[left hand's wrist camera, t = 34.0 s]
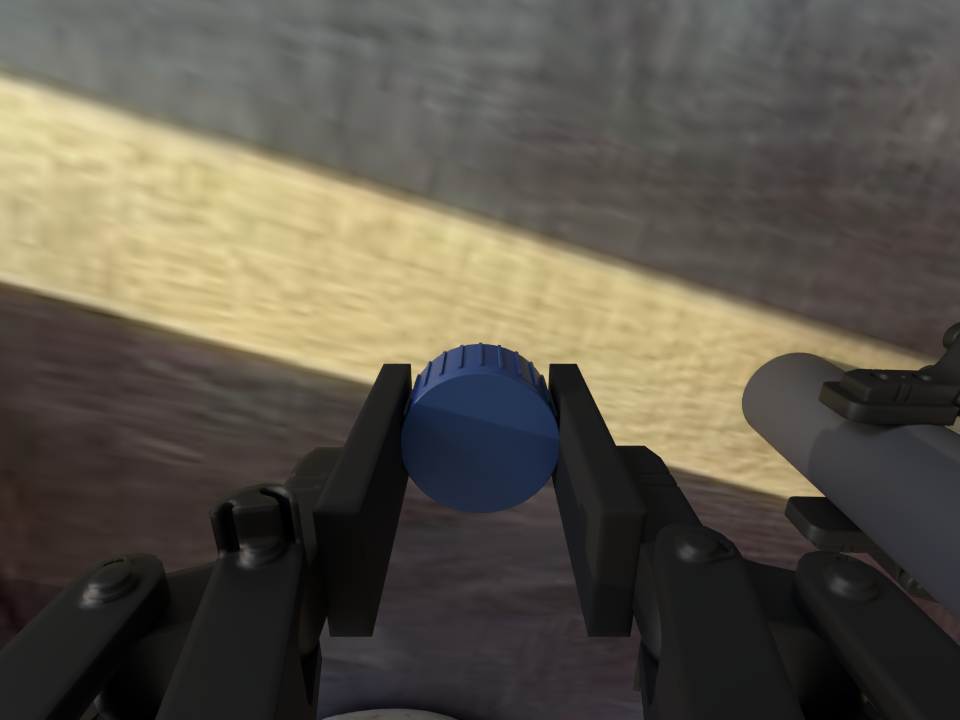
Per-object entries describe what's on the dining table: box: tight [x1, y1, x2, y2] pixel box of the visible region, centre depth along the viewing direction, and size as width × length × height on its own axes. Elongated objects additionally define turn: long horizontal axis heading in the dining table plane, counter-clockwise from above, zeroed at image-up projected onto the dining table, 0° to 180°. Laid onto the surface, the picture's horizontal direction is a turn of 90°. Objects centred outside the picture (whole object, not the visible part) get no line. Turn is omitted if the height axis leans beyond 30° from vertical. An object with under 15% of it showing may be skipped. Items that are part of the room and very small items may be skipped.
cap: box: [401, 343, 559, 513], centre depth 14 cm, size 4×4×2 cm
